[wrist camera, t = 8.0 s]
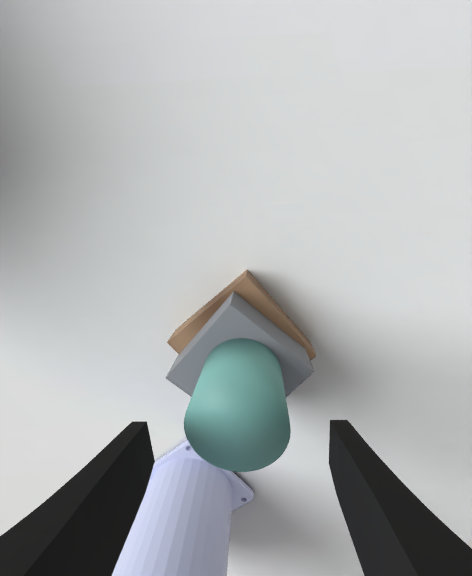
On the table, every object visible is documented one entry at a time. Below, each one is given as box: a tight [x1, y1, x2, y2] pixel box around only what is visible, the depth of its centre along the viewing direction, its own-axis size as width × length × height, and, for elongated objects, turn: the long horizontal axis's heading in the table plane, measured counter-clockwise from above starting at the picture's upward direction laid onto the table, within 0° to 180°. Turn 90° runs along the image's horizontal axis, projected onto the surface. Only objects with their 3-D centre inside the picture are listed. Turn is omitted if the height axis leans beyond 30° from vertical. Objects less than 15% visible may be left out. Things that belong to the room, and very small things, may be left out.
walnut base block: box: [167, 270, 316, 360], centre depth 18 cm, size 7×7×2 cm
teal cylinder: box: [184, 338, 290, 472], centre depth 12 cm, size 4×4×4 cm
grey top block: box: [166, 291, 314, 397], centre depth 16 cm, size 6×6×2 cm
